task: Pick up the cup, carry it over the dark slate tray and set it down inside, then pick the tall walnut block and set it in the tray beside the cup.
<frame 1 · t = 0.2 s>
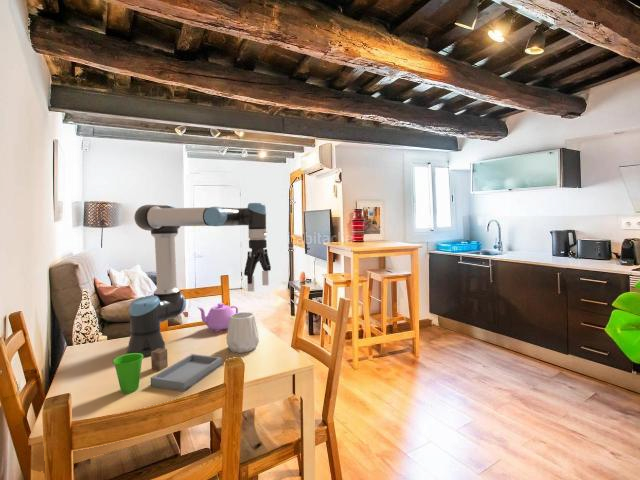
hand: (258, 288, 147), 28 cm above the table, fingers open, 13 cm apart
walnut block: (159, 368, 133), on the table
tray: (188, 374, 126), on the table
teapot: (219, 329, 180), on the table
cup: (129, 390, 116), on the table
vase: (242, 348, 152), on the table
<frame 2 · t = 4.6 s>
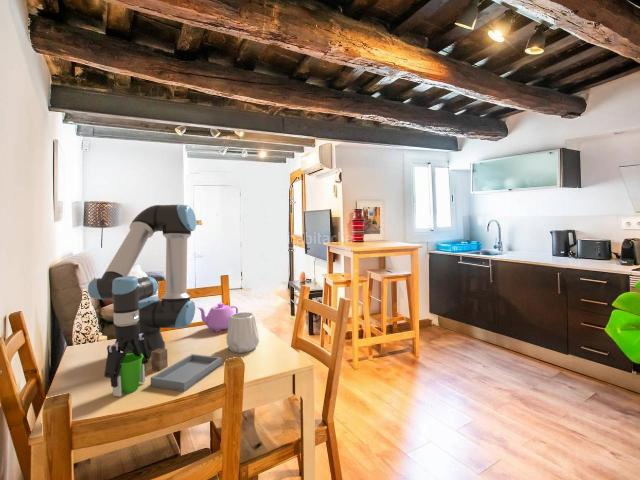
hand: (129, 388, 116), 1 cm above the table, fingers closed on cup, 9 cm apart
cup: (129, 390, 116), on the table, touching gripper
everything else where it was.
when the fingers open (4 cm above the table, at t = 10.2 s): cup drops 3 cm, resting on tray.
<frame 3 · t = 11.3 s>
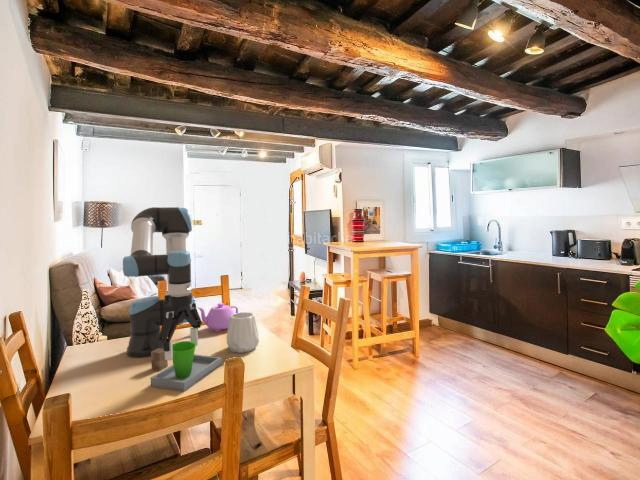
hand: (182, 351, 124), 10 cm above the table, fingers open, 13 cm apart
cup: (183, 375, 124), point 1 cm above the table, touching tray
everything else where it was.
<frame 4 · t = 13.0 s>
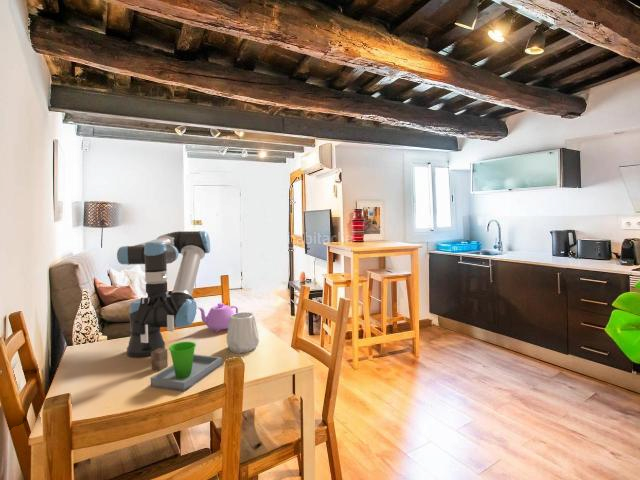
hand: (158, 336, 132), 13 cm above the table, fingers open, 13 cm apart
nothing on the table moved.
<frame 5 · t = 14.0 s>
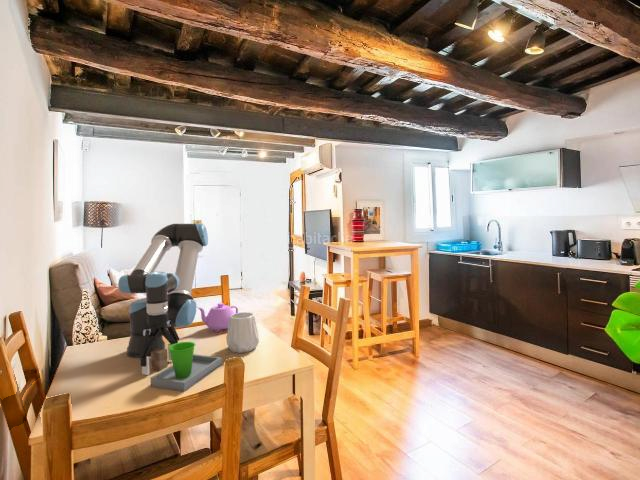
hand: (159, 366, 132), 1 cm above the table, fingers open, 13 cm apart
nothing on the table moved.
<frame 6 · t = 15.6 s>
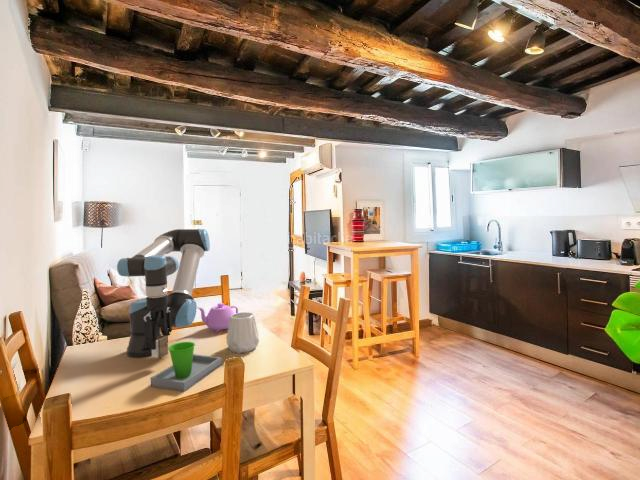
hand: (160, 354, 133), 5 cm above the table, fingers closed on walnut block, 4 cm apart
walnut block: (160, 355, 133), point 5 cm above the table, touching gripper
everything else where it was.
when the fingers open (1 cm above the table, at t = 19.9 s): walnut block stays where it is, resting on tray.
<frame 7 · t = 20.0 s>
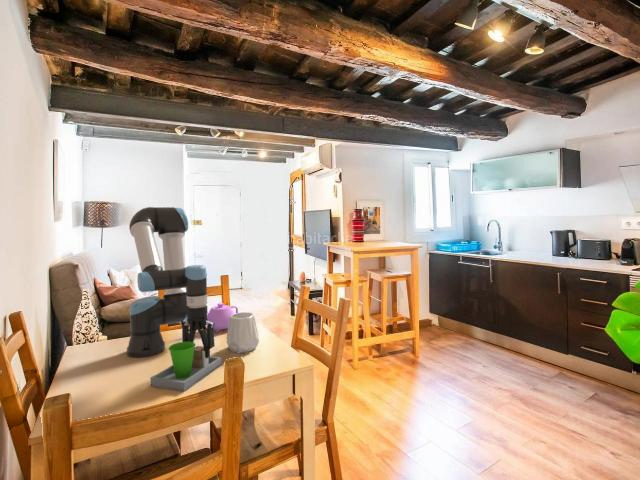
hand: (198, 364, 132), 1 cm above the table, fingers open, 5 cm apart
walnut block: (198, 365, 132), point 1 cm above the table, touching tray
everything else where it was.
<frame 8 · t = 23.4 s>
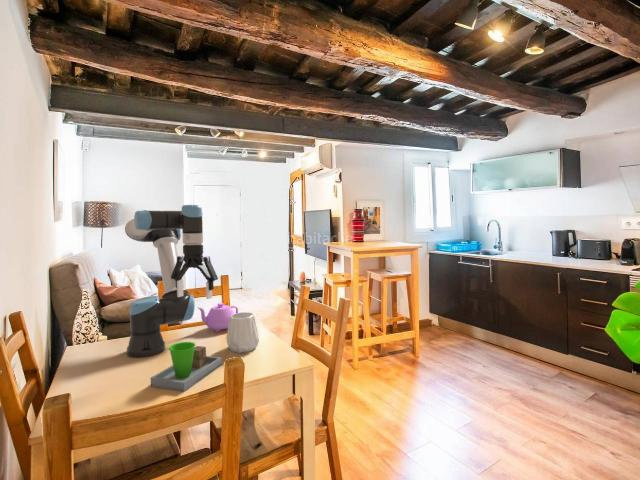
hand: (194, 297, 136), 27 cm above the table, fingers open, 13 cm apart
nothing on the table moved.
at the end: cup inside the target area on the tray (2.9 cm from its centre), point 0.8 cm above the tray's base; cup tilted 0°; walnut block inside the target area on the tray (5.8 cm from its centre), point 1.0 cm above the tray's base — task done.
